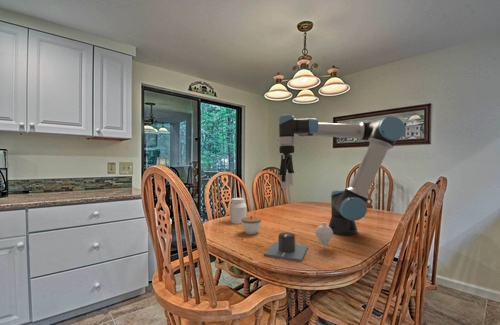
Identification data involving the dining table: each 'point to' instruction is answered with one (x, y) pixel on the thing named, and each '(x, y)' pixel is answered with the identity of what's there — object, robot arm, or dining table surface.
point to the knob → (286, 242)
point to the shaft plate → (294, 256)
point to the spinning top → (324, 234)
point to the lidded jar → (251, 224)
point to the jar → (237, 210)
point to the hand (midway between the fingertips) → (287, 186)
